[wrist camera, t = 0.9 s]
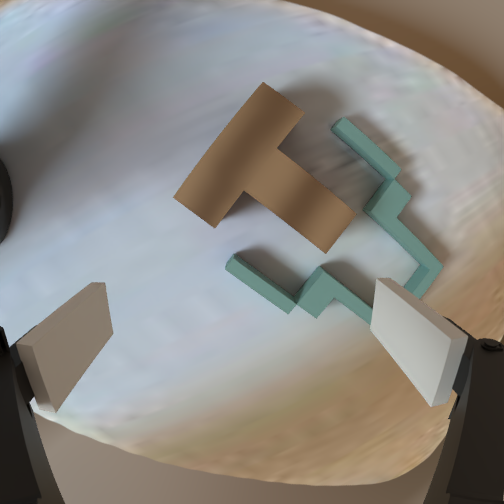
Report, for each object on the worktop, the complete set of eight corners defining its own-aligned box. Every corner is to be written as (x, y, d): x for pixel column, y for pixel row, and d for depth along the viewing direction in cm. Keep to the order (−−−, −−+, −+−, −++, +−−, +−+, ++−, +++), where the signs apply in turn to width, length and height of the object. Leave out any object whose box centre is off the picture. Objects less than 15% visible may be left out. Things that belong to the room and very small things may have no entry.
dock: (226, 263, 37) (225, 269, 35) (337, 120, 34) (343, 116, 32) (357, 355, 41) (362, 365, 38) (452, 234, 37) (463, 237, 35)
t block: (184, 194, 36) (173, 197, 30) (260, 97, 33) (263, 81, 28) (289, 272, 38) (297, 289, 32) (362, 178, 36) (382, 179, 30)
